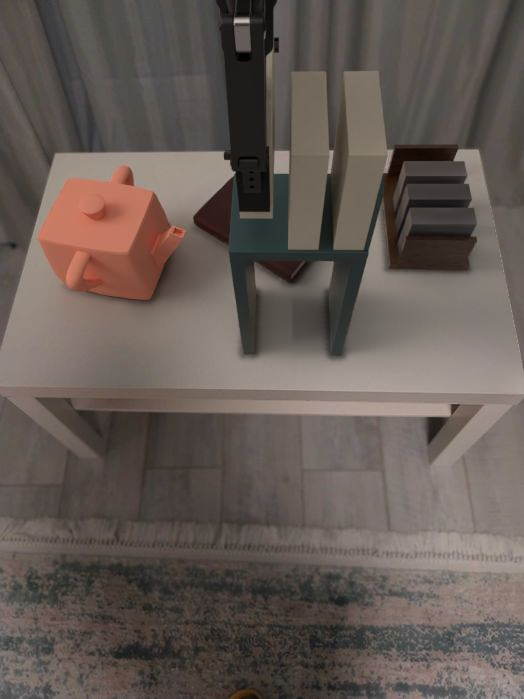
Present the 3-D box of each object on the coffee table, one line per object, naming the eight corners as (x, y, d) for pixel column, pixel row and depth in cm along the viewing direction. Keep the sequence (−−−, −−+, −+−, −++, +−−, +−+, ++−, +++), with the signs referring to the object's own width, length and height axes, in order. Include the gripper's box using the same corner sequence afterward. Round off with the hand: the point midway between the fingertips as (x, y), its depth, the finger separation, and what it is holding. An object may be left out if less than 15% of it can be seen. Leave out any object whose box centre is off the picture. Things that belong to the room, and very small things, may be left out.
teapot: (49, 314, 75) (3, 259, 62) (101, 204, 84) (70, 137, 72) (174, 338, 73) (153, 286, 60) (214, 222, 82) (202, 156, 69)
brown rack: (467, 269, 76) (490, 231, 68) (388, 269, 77) (402, 231, 69) (450, 177, 85) (468, 133, 76) (379, 177, 85) (390, 134, 77)
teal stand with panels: (338, 292, 75) (384, 68, 43) (341, 355, 71) (394, 157, 38) (246, 291, 76) (222, 69, 43) (243, 354, 71) (214, 158, 39)
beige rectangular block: (240, 218, 45) (228, 103, 35) (245, 140, 50) (235, 16, 39) (272, 218, 45) (271, 103, 35) (274, 140, 50) (273, 16, 39)
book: (289, 286, 76) (290, 274, 73) (194, 227, 81) (191, 214, 78) (334, 233, 80) (337, 220, 77) (241, 181, 86) (240, 166, 83)
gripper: (316, -46, 21) (297, 264, 41) (309, -247, 31) (297, 82, 51) (140, -43, 21) (207, 263, 41) (189, -243, 31) (224, 83, 51)
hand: (256, 163), depth 46 cm, fingers closed on beige rectangular block, 10 cm apart
